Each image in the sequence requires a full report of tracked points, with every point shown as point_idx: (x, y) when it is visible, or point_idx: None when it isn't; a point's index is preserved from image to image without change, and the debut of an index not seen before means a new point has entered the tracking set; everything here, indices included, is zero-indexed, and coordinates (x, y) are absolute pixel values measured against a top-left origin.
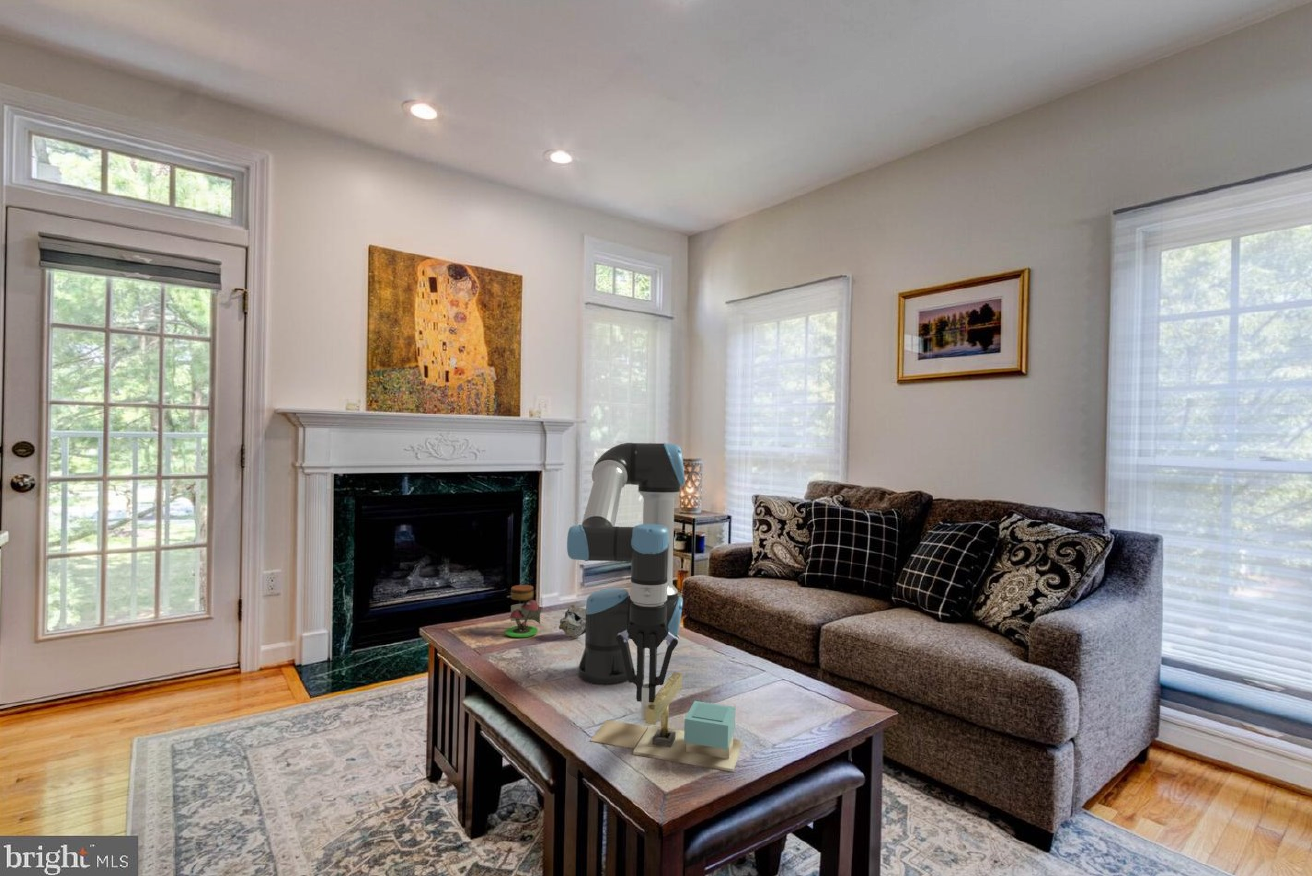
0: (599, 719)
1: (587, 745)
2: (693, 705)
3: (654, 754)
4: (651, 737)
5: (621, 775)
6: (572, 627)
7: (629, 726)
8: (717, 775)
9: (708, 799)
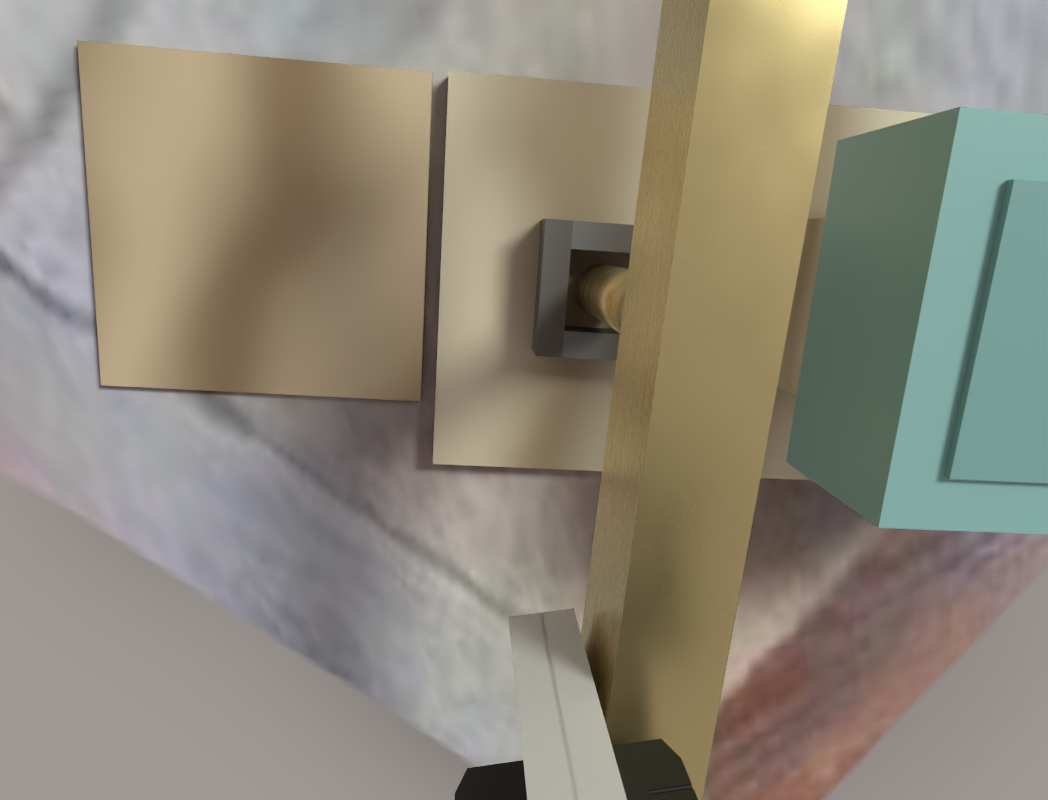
0: (12, 32)
1: (113, 436)
2: (951, 227)
3: (571, 463)
4: (503, 258)
5: (436, 671)
6: None
7: (294, 108)
8: (931, 533)
9: (887, 730)
